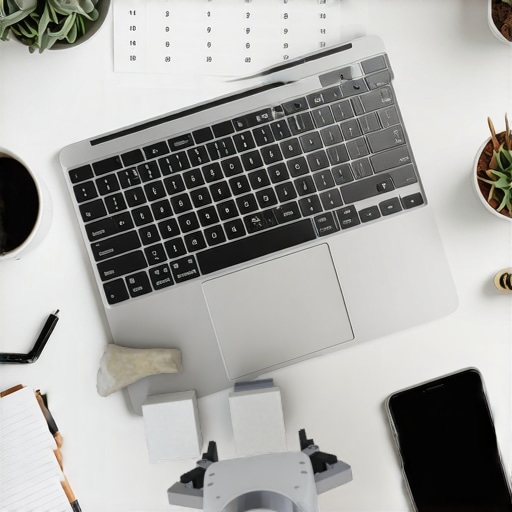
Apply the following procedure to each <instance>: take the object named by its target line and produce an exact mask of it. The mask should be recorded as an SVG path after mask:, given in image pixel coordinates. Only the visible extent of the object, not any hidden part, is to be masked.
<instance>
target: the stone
mask: <svg viewBox="0 0 512 512" xmlns="http://www.w3.org/2000/svg"><path fill="white" fill-rule="evenodd" d="M182 363H183V362H182V352H181V351H180V350H179V349H177V348H156V347H155V348H132V347H127V346H120V345H117V344H115V343H108V344H105V345H104V346H103V354H102V355H101V357H100V361H99V367H98V372H97V374H96V391H97V392H96V393H97V394H98V395H99V396H100V397H103V398H107V397H108V396H111V394H114V393H116V392H119V390H122V389H124V387H127V386H129V385H132V384H134V383H136V382H137V381H139V380H141V379H144V378H145V377H148V376H152V375H158V374H180V373H181V372H182V371H183V370H184V369H183V368H184V367H183V364H182Z"/></svg>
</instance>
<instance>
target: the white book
mask: <svg viewBox="0 0 512 512" xmlns="http://www.w3.org/2000/svg"><path fill="white" fill-rule="evenodd" d="M280 389H281V388H280V386H274V387H271V388H263V389H256V390H248V391H240V392H234V391H233V392H229V393H228V396H227V397H228V407H229V412H230V413H229V414H230V419H231V420H230V421H231V426H232V434H233V443H234V449H235V456H236V457H245V456H253V455H261V454H269V453H276V452H283V451H288V443H287V434H286V427H285V419H284V412H283V411H284V410H283V405H282V404H283V403H282V396H281V390H280Z"/></svg>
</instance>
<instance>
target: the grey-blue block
mask: <svg viewBox="0 0 512 512" xmlns="http://www.w3.org/2000/svg"><path fill="white" fill-rule="evenodd" d="M271 387H275V385H274V379H273V378H265V379H264V378H263V379H258V380H257V379H256V380H248V381H242V382H241V381H240V382H235V383H234V387H233V388H234V389H233V392H240V391H248V390H256V389H263V388H271Z"/></svg>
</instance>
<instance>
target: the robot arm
mask: <svg viewBox="0 0 512 512" xmlns="http://www.w3.org/2000/svg"><path fill="white" fill-rule="evenodd" d="M297 432H298V441H299V447H300V451H295V450H293V451H284V452H283V451H281V452H272V453H264V454H256V455H249V456H241V457H236V458H230V459H229V458H228V459H224V460H220V459H219V454H218V447H217V446H218V445H217V441H215V440H209V441H208V444H207V449H206V452H202V453H201V458H200V459H199V460H197V461H196V462H195V464H196V467H194V468H192V469H190V470H188V471H186V472H184V473H183V474H181V475H180V476H179V481H176V482H174V483H173V484H172V485H171V486H170V487H169V488H168V489H167V490H166V493H167V500H168V504H169V505H171V506H178V507H183V508H184V507H185V508H190V509H196V510H202V511H203V512H320V508H319V501H318V496H320V495H322V494H324V493H326V492H329V491H331V490H333V489H336V488H339V487H341V486H343V485H345V484H348V483H350V482H352V481H353V473H352V466H351V465H350V464H348V463H346V462H345V461H343V460H339V459H338V456H337V455H335V454H333V453H329V452H325V451H321V450H320V446H319V445H317V444H315V440H314V438H308V436H307V433H306V429H305V428H300V429H299V430H297Z"/></svg>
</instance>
